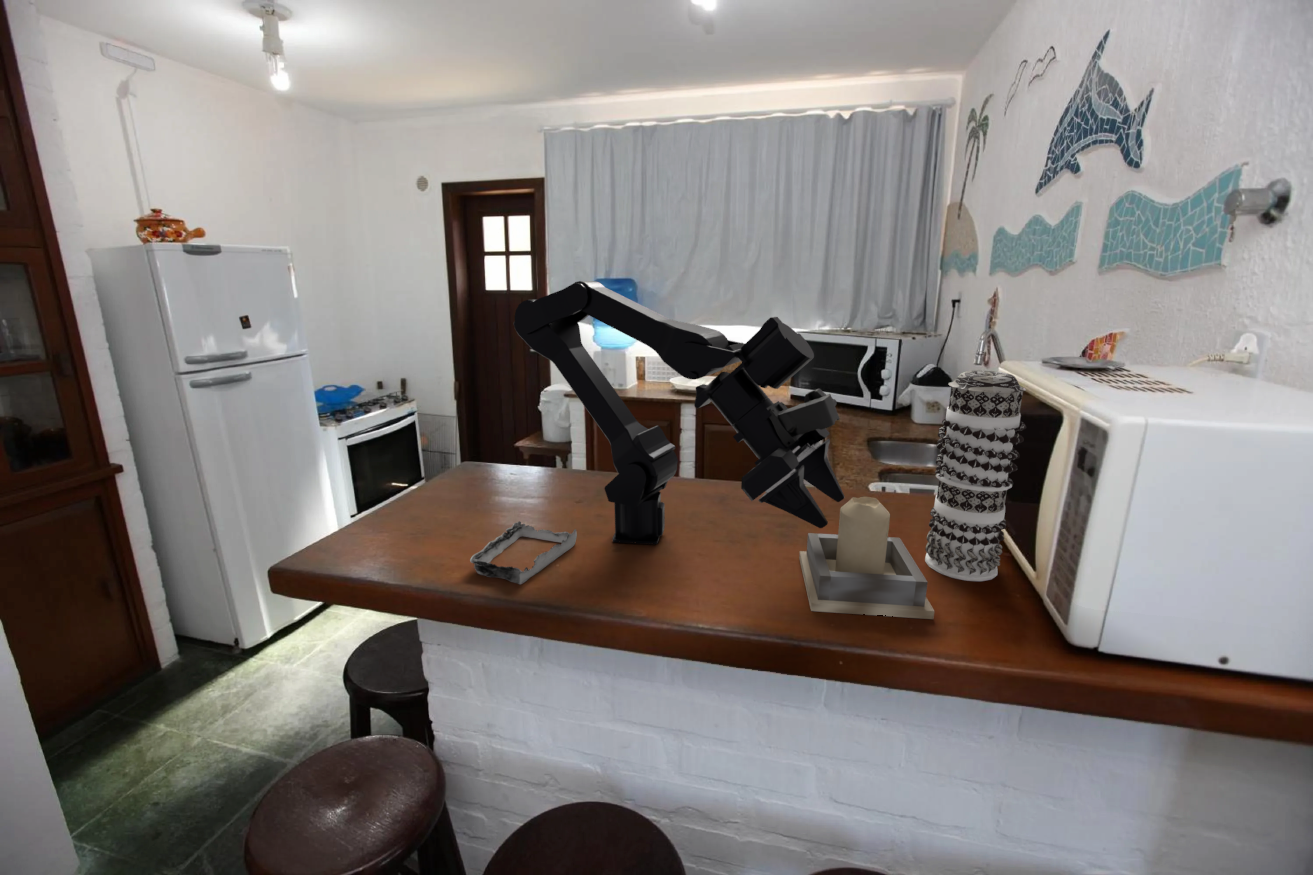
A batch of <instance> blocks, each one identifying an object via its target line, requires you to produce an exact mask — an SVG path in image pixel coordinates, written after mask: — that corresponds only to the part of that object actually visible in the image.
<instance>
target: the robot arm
mask: <svg viewBox="0 0 1313 875" xmlns="http://www.w3.org/2000/svg"><path fill="white" fill-rule="evenodd" d="M588 317H591V318H593V319H595V320H597V321H598V322H601V323H604V324H605V325H607V326H609V327H611V328H612V329H615V330H617V331H618V332H620V333H622V334H625V335H626V336H628V337H630V338H632V339H634V340H635V341H638V342H640V343H642V344H644V345H646V346H647V347H649V348H650V349H651V350H653V351H654V352H656V354H657V355H658V357H660V359H661V360H662V362H663V363H664V364H665V365H667V366H668V367H670V369H673V370H674V371H675V372H676V373H678V374H679V375H680V376H681V377H683V378H685V379H688V380H698V379H701V378H704V377H707V376H709V375H713V374H715V373H718V372H720V373H718V374H717V375H716V376H715V377H714V378H713V379H712V380H711V381H710V382H709V383H708V384H706V383H702V384H699V385H697V386H696V387H695V391H696V392H695V399H694V404H693V405H694V408H696V409H700V408H702V407H705V406H706V405H709V404H710V403H712V404H713V405H714V406H715V407H716V409H717V410H718V411H719V412H720V413H721V415H722V416H723V417H724V419H725V420H726V421H727V422H728V423H729V425H730V426H731V427H732V428H733V430H735V432H736V433H735V434H734V435H733V437H732V438H733V439H734V440H735V441H736V443H737V444H739V443H741V441H744V443H745V444H746V445H747V446H748V448H750V450H751V452H753V454H754V455H755V456H756V458H758V459H757V460H756V461H755V462H754V465H755V467H753V468H751V470H749V471H748V472H746V473H745V474H744V475H742V477H741V483H740V484H741V485H740V488H741V490H742V491H743V493H744V494H745V495H746V496H747V498H748V499H749V500H750V501H751V502H753V501H754V500H756V499H757V498H758V497H759V499H758V502H759V503H761V504H762V503H766V504H768V505H771V506H773V507H775V508H777V509H780V510H782V511H784V512H787V513H788V514H790V515H793V516H795V517H797V518H799V520H800V519H801V520H803V521H804V522H807V523H809V524H810V525H812V526H814V527H817V528H818V529H823V528H824V527H826V526H827V525H828V524H829V523H828V522H829V521H828V519H827V518H826V516H825V514H824V512H823V511H822V510H821V508H820V507H819V506H820V505H818V503H817V502H816V500H815V498H814V497H813V495H812V493H811V492H810V491H809V489H808V488H807V486H806V485H805V483H804V482H805V481H806V482H807V483H809V484H810V485H812V487H814V488H816V489H817V490H818V491H820V492H821V493H823V494H824V495H826V497H828V498H830V499H832V500H834V501H835V502H837V503H840V502H841V501H842V500H844V499H845V494H844V491H843V490H842V488H841V485H840V483H839V481H838V478H837V477H836V475H835V473H834V471H833V468H832V466H831V464H830V461H829V459H828V451H829V445H830V443H831V442H830V438H828V439H826V438H827V437H828V436H829V435H830V432H829V431H828V430H827V429H828V428H830V427H832V426H833V425H835V424H836V421H840V419H841V418H840V416H839V413H838V410H837V408H836V406H837V400H836V399H834V398H833V397H832V395H831V393H829V394H828V393H825V392H824V391H823V390H822V389H821V388H817V389H814V390H812V391H809V392H807V393H805V396H804V402H803V403H802V402H801V403H799V404H797V405H795V406H792V407H790V408H788V407H787V406H786V405H785V403H784V402H782V401H779V400H777V401H776V402H773V400H771V398H770V397H769V396H768V395H767V394H766V392H765V391H764V390H763V389H766V388H768V387H770V388H771V389H775V390H776V389H777V390H778V389H779V388H781V386H783V385H784V384H785V383H786V382H787V381H789V380H790V379H791V378H793V376H794V375H796V374H797V373H798V372H799V371H801V369H802V368H804V367H805V366H806V365H807V364H809V362H811V361H812V360H813V359H814V357H815V354H814V351H813V349H812V347H811V345H810V344H809V343H808V342H807V340H806V339H805V338H804V337H803V335H801V334H800V333H799V332H798V333H797V332H796V331H795V330H794V329H793V328H792V327H790V326H789V325H788V324H786V323H784V322H783V321H782V320H781V319H780V318H779V316H771V317H769V318H768V319H767V320H766V321H765V322H764V323H763V324H762V325H761V327H760V329H759V330H758V331H757V332H756V333H755V334H753V336H751V338H750V339H748V340H747V341H746V342H745V343H743V342H739V341H734V340H731V339H730V340H729V339H728V338H727V337H726V335H725V334H724V333H722V332H721V331H720V330H717V329H713V328H710V327H706V326H702V325H700V324H695V323H689V322H685V321H678V320H674V319H671V318H668V317H666V316H665V315H662V314H660V313H658V312H656V311H654V310H652V309H650V308H648V307H646V306H644V305H642V304H640V303H638V302H636V301H634V300H632V299H629V298H628V297H626V296H623V295H622V294H620V293H617V292H616V291H614V290H611V289H610V288H607V287H605V286H604V284H602V283H601V282H599V281H596V280H579V281H575V282H573V283H572V284H569V285H568V286H566V287H565V288H563V289H560V290H557V291H555V292H552V293H549V294H547V295H544V296H542V297H540V298H538V299H525V300H523V301H521V303H519V304H517V307H516V308H515V313H514V321H513V326H514V330H515V332H516V333H517V335H518V336H519V337H520V338H521V339H522V340H523V341H524V342H525V343H526V345H528V346H529V348H530V349H531V350H533V351H534V352H535V353H537V354H539V355H541V356H542V357H544V358H545V359H547V360H549V361H551V363H553V364H554V366H556V369H557V370H558V372H559V373H560V374H561V375H562V377H563V378H564V380H565V381H566V382H567V384H568V385H569V386H570V388H571V389H572V391H573V392H574V394H575V396H576V397H577V398H578V399H579V401H580V403H582V405H583V406H584V408H585V409H586V411H587V412H588V413H589V415H590V416H591V417H592V419H593V421H594V422H595V423H596V425H597V426H598V427H599V429H600V430H601V431H602V433H603V434H604V436H605V438H606V439H607V440H608V442H609V444H610V449H611V456H612V462H613V466H614V468H615V470H616V472H617V475H616V476H615V477H614V478H613V479H611V481H610V482H608V483H607V484H606V485H605V486H604V488H603V489H604V492H605V495H606V498H607V501H608V502H610V503H613V504H614V505H613V506H614V534H613V536H612V542H613V543H619V544H620V543H621V544H639V545H642V544H643V545H657V544H658V543H659V540H660V537H661V536H663V534H664V530H665V524H666V523H665V514H666V513H665V510H666V509H665V502H664V501H663V502H662V500H661V498H662V497H661V493H662V492H661V491H662V490H665V489H666V488H667V485H668V483H669V482H668V481H670V480H671V479H673V477H674V476H675V475H676V473H677V470H678V463H679V460H678V459H679V458H678V457H677V455H676V452H675V449H676V448H677V447H676V446H675V445H674V444H673V443H671V441H669V439H668V438H667V437H666V435H665V433H664V430H663V429H662V428H661V427H660V426H659V425H655V426H653V427H650V428H647V427H645V425H642V424H641V423H639V421H638V420H637V419H636V417H635V416H634V414H633V413H632V412H631V411H630V409H629V408H628V406H627V405H626V403H625V402H624V401H623V399H622V397H621V396H620V395H619V393H618V392H617V391H616V390H615V388H614V387H613V385H612V384H611V383H610V381H609V380H608V378H607V377H606V376H605V374H604V373H603V372H602V370H601V369H600V367H599V366H598V365H597V363H596V362H595V360H594V359H593V358H592V356H591V355H590V354H589V351H587V350H586V347H585V346H584V345H583V343H582V336H581V330H580V325H579V323H580V322H582V321H584V320H585V319H586V318H588ZM739 362H741V363H740V364H738V366H737V367H735V369H733V370H732V371H731V372H728V371H723V369H724V368H725V367H727V366H731V365H733V364H737V363H739ZM825 439H826V440H825ZM824 440H825V441H824ZM821 441H823V442H822V443H820V442H821ZM760 496H761V497H760Z"/></svg>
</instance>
